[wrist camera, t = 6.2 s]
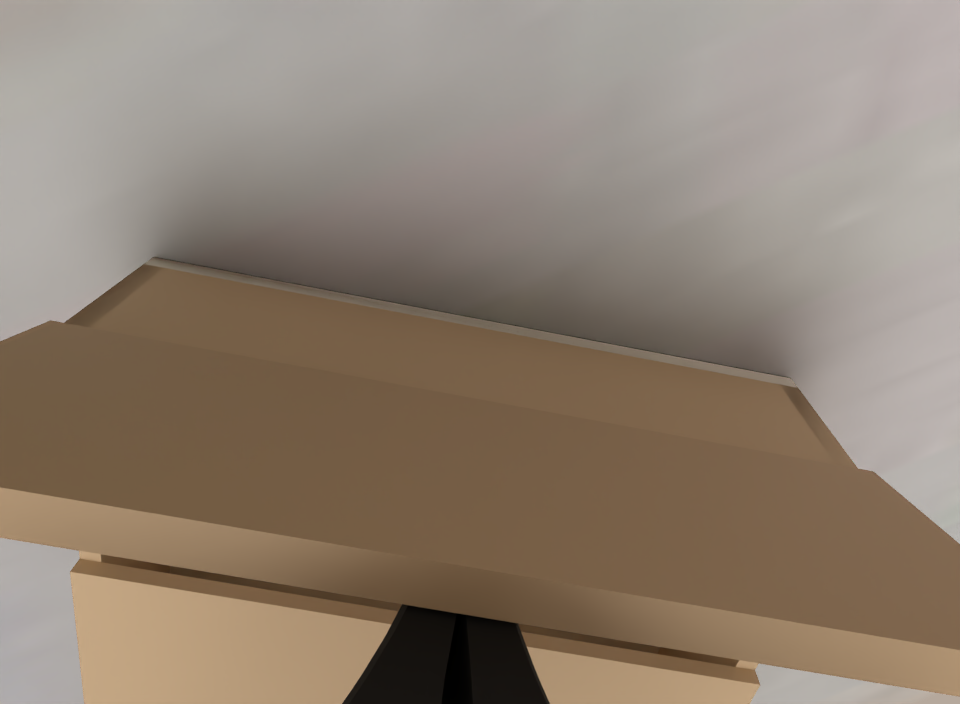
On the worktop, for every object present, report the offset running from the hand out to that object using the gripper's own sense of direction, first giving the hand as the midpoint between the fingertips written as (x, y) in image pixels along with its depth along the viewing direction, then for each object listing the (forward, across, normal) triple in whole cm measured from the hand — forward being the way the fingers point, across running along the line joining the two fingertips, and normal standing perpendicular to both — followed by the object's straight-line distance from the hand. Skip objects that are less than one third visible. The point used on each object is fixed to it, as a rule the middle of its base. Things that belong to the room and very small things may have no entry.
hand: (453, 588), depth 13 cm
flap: (+1, 0, -1) cm, 2 cm away
